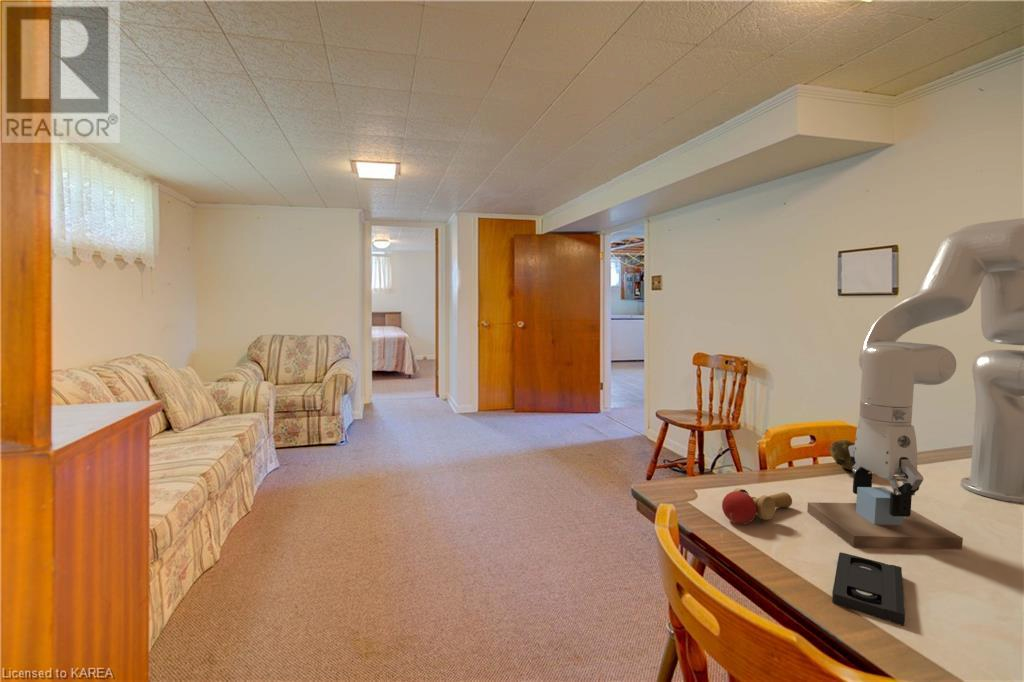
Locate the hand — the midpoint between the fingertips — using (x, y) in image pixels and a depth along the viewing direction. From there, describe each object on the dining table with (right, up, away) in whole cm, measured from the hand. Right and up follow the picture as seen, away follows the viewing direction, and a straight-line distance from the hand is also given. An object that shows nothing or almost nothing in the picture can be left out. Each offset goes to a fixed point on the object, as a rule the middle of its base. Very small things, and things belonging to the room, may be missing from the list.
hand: (879, 504), depth 89 cm
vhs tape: (-16, -7, -18) cm, 25 cm away
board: (0, -5, 0) cm, 5 cm away
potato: (+16, -2, +33) cm, 37 cm away
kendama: (-19, -5, +7) cm, 21 cm away
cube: (0, -3, 0) cm, 3 cm away
